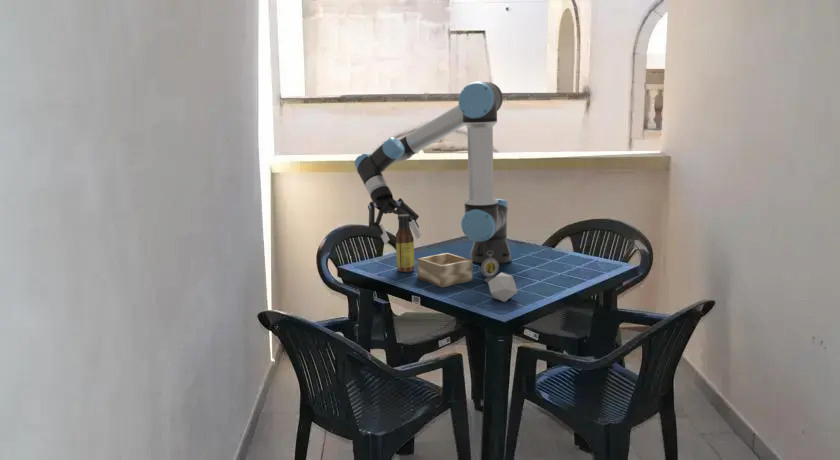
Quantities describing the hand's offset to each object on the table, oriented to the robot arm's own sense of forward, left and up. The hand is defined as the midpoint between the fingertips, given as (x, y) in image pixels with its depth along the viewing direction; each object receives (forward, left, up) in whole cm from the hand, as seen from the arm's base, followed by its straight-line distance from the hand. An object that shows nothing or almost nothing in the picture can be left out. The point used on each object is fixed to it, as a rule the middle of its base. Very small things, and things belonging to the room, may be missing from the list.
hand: (403, 239), depth 235 cm
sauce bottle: (-1, 0, -11) cm, 11 cm away
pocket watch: (-30, +15, -11) cm, 35 cm away
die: (-30, +34, -11) cm, 46 cm away
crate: (-14, +12, -11) cm, 21 cm away
